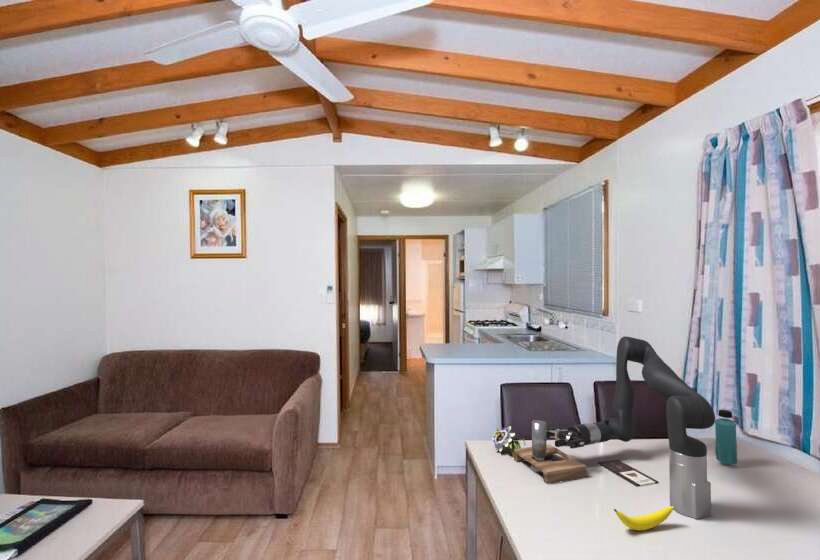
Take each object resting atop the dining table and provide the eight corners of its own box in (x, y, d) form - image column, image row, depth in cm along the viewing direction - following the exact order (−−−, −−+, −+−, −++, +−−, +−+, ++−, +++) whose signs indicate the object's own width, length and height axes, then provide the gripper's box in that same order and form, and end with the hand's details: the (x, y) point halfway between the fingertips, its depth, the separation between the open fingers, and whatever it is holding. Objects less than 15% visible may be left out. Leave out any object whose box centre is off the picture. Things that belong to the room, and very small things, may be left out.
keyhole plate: (586, 477, 141) (586, 465, 141) (547, 484, 136) (547, 472, 136) (549, 454, 160) (549, 444, 160) (514, 460, 155) (514, 449, 155)
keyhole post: (551, 472, 145) (551, 424, 145) (537, 474, 143) (536, 425, 144) (541, 465, 151) (541, 418, 151) (527, 467, 149) (527, 420, 149)
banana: (678, 527, 112) (678, 504, 112) (618, 536, 108) (618, 512, 108) (670, 521, 115) (669, 498, 115) (610, 530, 111) (610, 506, 111)
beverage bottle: (742, 469, 147) (741, 413, 148) (723, 468, 148) (722, 413, 148) (728, 461, 154) (727, 408, 154) (710, 461, 154) (710, 407, 154)
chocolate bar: (618, 459, 154) (658, 481, 137) (618, 462, 154) (658, 484, 137) (597, 462, 152) (636, 485, 135) (598, 465, 152) (636, 488, 135)
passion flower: (498, 465, 163) (484, 436, 169) (519, 456, 167) (505, 427, 173) (510, 459, 154) (495, 428, 160) (532, 449, 158) (517, 419, 164)
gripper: (571, 418, 160) (535, 422, 155) (598, 430, 147) (560, 435, 141) (571, 437, 160) (536, 442, 155) (598, 451, 146) (561, 457, 141)
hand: (547, 439), depth 148 cm, fingers open, 8 cm apart
